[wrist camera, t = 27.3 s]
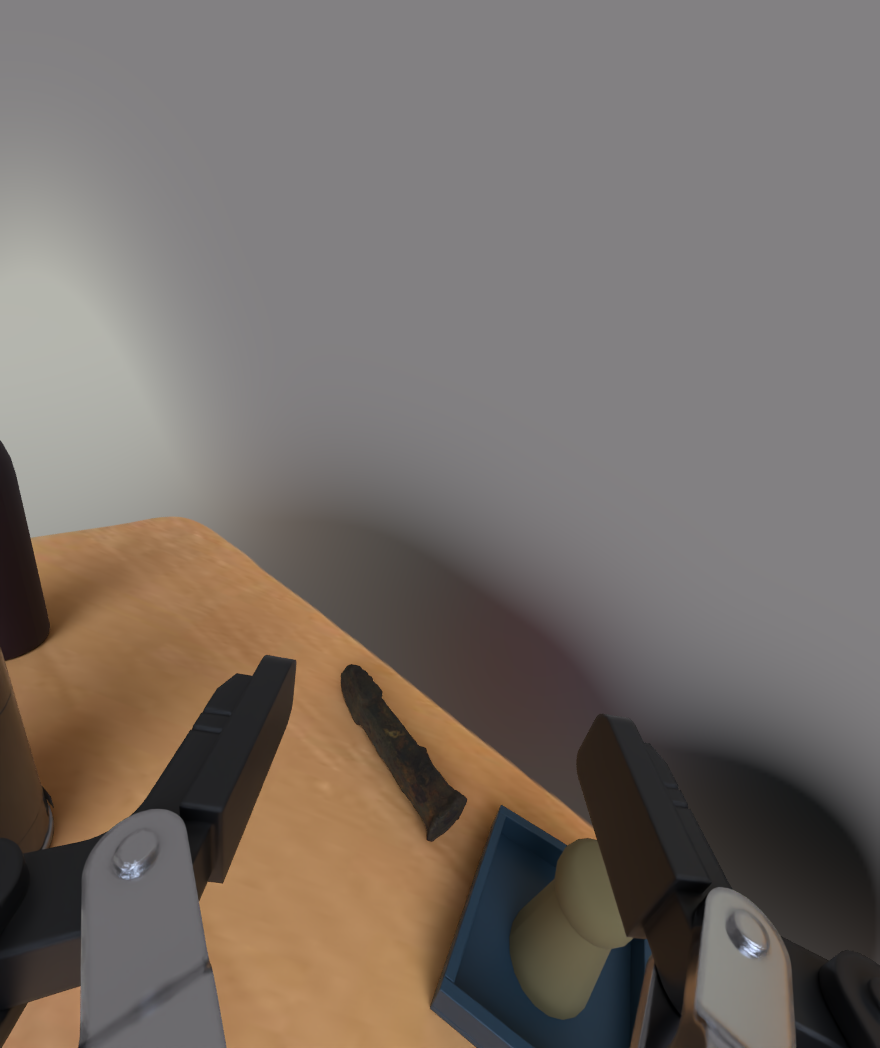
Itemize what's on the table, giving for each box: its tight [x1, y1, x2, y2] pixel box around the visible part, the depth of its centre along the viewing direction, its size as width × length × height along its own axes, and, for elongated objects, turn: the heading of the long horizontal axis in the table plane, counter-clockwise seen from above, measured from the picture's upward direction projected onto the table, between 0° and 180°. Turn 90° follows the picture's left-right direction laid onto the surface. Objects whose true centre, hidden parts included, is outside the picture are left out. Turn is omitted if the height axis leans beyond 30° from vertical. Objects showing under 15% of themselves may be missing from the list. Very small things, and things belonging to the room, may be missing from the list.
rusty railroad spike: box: [341, 664, 467, 842], centre depth 41 cm, size 19×4×5 cm, turn 38°
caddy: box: [430, 805, 652, 1048], centre depth 29 cm, size 13×13×3 cm
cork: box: [509, 838, 633, 1020], centre depth 27 cm, size 6×6×11 cm
